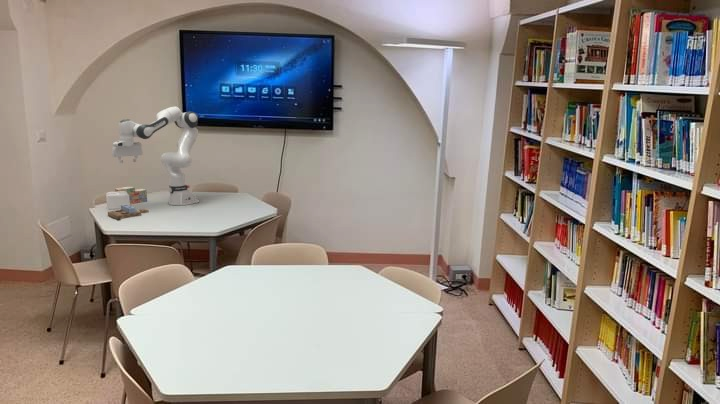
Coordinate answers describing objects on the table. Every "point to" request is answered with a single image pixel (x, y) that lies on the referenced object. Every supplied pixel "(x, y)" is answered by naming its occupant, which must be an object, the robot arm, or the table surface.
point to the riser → (144, 210)
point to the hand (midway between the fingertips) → (128, 162)
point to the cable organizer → (117, 199)
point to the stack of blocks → (134, 194)
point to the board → (122, 214)
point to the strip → (128, 208)
